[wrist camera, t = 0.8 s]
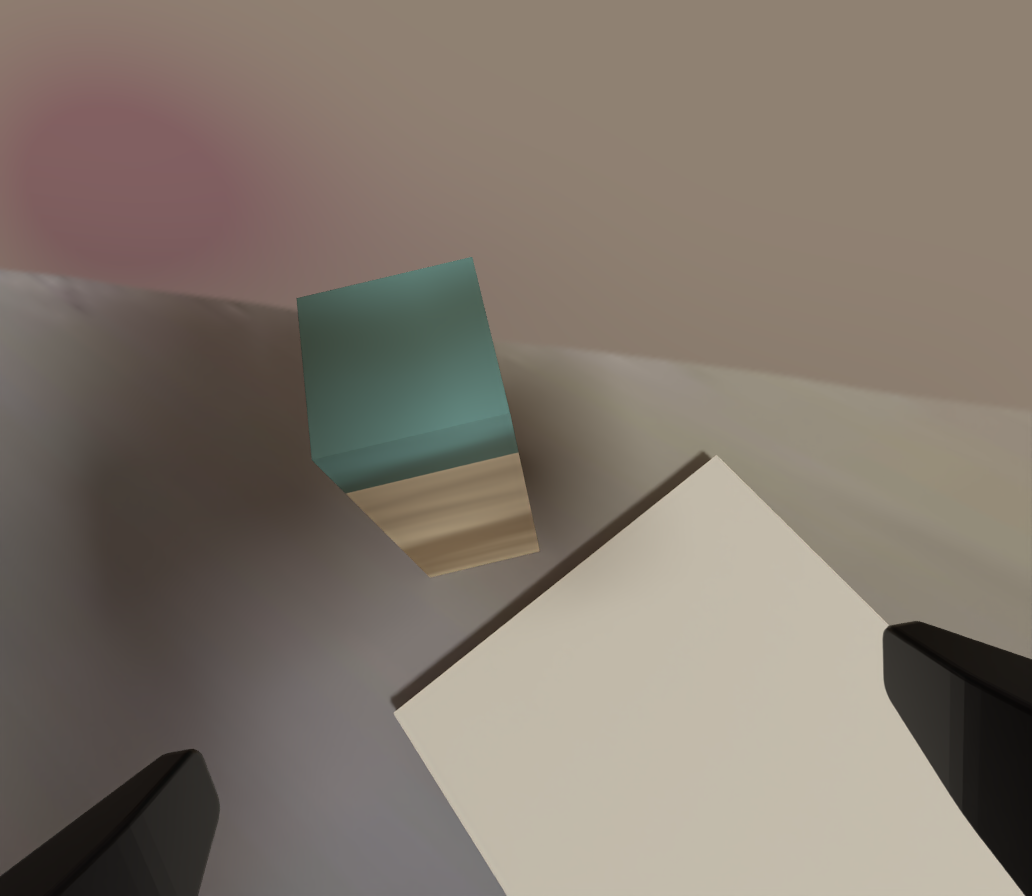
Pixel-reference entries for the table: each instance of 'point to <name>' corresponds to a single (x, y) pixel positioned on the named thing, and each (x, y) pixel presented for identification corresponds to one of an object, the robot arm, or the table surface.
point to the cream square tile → (695, 726)
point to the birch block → (417, 415)
